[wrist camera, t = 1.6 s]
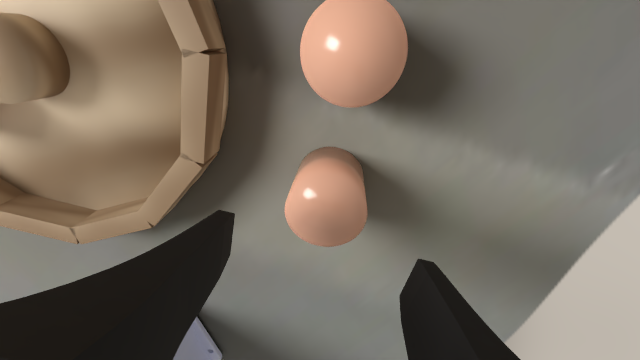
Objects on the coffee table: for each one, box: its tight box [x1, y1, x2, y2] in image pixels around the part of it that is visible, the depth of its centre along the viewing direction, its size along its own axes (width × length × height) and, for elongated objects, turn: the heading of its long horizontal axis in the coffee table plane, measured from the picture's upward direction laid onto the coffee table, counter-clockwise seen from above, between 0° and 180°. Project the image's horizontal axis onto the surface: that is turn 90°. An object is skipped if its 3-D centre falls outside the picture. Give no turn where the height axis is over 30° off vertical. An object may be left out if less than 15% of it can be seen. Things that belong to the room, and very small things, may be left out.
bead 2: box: [285, 147, 367, 247], centre depth 16 cm, size 4×4×4 cm
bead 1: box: [300, 0, 408, 107], centre depth 13 cm, size 4×4×4 cm
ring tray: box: [0, 0, 229, 244], centre depth 15 cm, size 20×20×3 cm
